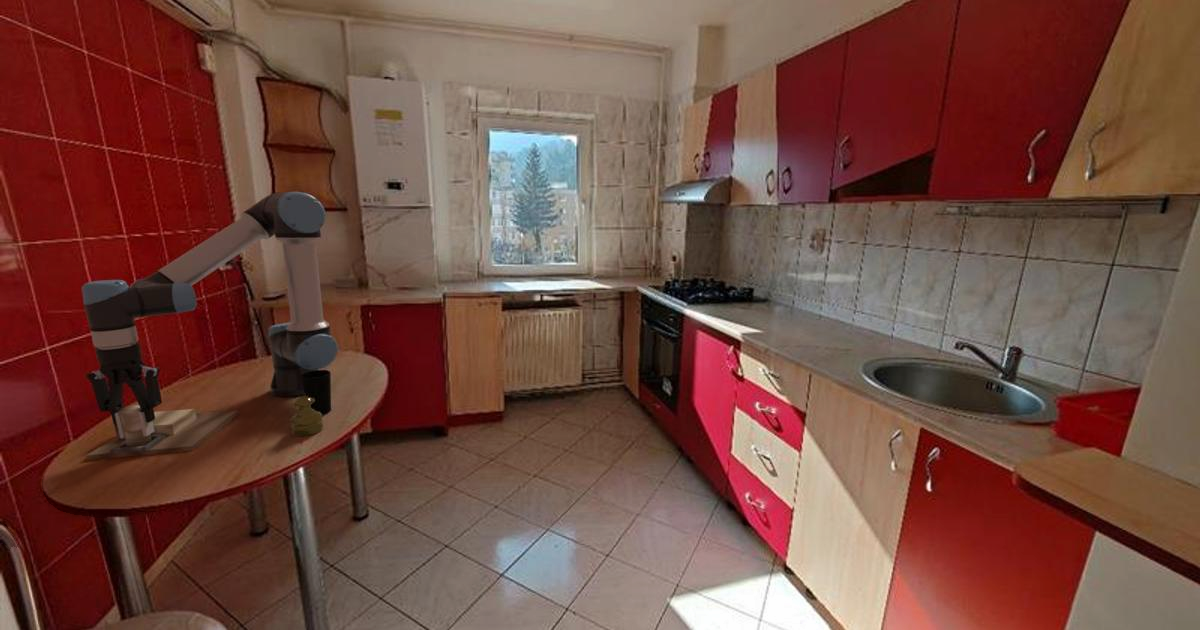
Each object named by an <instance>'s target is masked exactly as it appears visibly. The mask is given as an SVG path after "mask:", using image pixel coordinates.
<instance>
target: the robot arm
mask: <svg viewBox="0 0 1200 630" xmlns="http://www.w3.org/2000/svg"><path fill="white" fill-rule="evenodd" d="M325 222H326V211H325V208H324V206H323V204H322V203H321V202H320V201H319V200H318V199H317V198H316V197H315V196H313V195H311V194H309V193H307V192H301V191H285V192H279V191H278V192H275V193H271V194H268V195H266V196H265V197H263V198H262V199H260V200H259V201H258V202H256V203H255V204H253V205H252V206H250V207H249V208H247V209H246V210H245V211H242V212H241V214H240V218H239V219H237V220H236V221H234V222H233V223H231V224H230V225H228V226H227V227H224V228H223V229H222V230H220V231H219V232H217V233H216V234H214V235H212V236H210V237H209V238H207V239H205V240H204V241H202V242H200V244H197V245H196V246H195V247H193V248H191V249H190V250H188V251H187V252H185V253H184V254H181V256H179V257H178V258H176V259H174V260H172V261H171V262H170V263H168V264H166V265H164V266H163V267H161V268H159V269H158V270H157V271H155V272H154V273H152V274H150V275H148V276H147V277H145V278H141V279H137V280H135V281H134V282H132V283H131V284H130V286H129V285H128V284H127V282H126V281H125V280H123V279H109V280H108V279H107V280H106V279H105V280H104V279H103V280H95V281H88V282H85V283H84V284H83V285H82V286H81V293H82V294H81V295H82V299H83V302H82V303H83V306H84V310H85V314H86V317H87V322H88V325H89V328H90V329H89V330H90V336H91V338H92V344H93V347H95V348H96V349H95V355H96V360H97V362H98V364H100V366H99V369H96V370H94V371H92V372H89V373H86V378H87V379H88V381H89V382H90V383H91V385H92V389H93V392H94V395H95V400H96V404H97V406H98V407H97V408H98V410H99V411H100V412H102V413H103V412H107V413H108V412H109V413H110V414H111V419H112V424H113V425H117V426H118V430H119V434H120V438H125V434H124V430H123V425H122V421H121V417H120V413H119V410H120V409H122V408H125V407H126V406H123V403H124V401H123V399H124V395H123V394H124V384H126V385H127V387H129V388H130V389H131V392H132V393H133V396H134V397H135V399H136V401H137V403H138V404H137V405H139V406H140V408H141V410H140V411H139V412H138V414H139V419H140V423H141V428H142V432H143V436H148V435H150V434H151V433H153V432H154V426H153V422H152V421H153V420H155V415H154V412H155V411H154V409H155V408H156V407H158V406H159V405H161V404H162V402H163V401H162V395H161V394H162V393H161V390H160V389H161V388H160V383H159V377H158V376H159V372H160V368H159V367H158V366H154V367H151V366H150V367H149V366H146V364H145V363H144V362H143V360H142V358H143V353H142V348H141V344H140V343H139V342H138V341H139V334H138V331H137V326H136V321H135V319H137V318H144V317H153V316H155V317H156V316H161V315H171V314H182V313H185V312H190V311H194V310H195V309H196V308H197V304H198V303H197V301H198V300H197V295H196V292H195V289H194V287H193V286H194V285H195V284H197V283H198V282H200V281H201V280H203V279H204V278H206V277H207V276H209V275H210V274H211V273H213V272H215V271H216V270H217V269H219V268H220V267H222V266H223V265H225V264H227V262H229V261H231V260H232V259H234V258H236V257H237V256H239V255H240V254H241V253H243V252H245V251H246V250H247V249H249V248H250V247H251V246H253V245H255V244H257V242H259V241H261V240H269V239H270V238H271V237H273V236H274V237H275V239H276V240H277V241H278V242H279V243H280V244H282V245H281V246H282V252H283V261H284V269H285V278H286V287H287V296H288V304H289V312H290V313H289V314H290V315H289V316H290V322H289V321H288V322H284V323H278V324H273V325H271V326H269V328H268V336H267V338H268V340H269V346H270V347H269V348H270V351H271V352H270V353H271V358H272V364H273V365H272V366H273V372H272V373H273V374H272V378H271V381H270V386H269V389H270V395H272V396H274V397H279V398H281V397H282V398H288V397H297V396H304V395H305V393H304V389H303V385H302V381H301V375H302V374H304V373H307V372H311V371H316V370H323V369H325V368H326V367H328V366H330V365H331V364H332V362H333V361H335V360H336V357H337V356H338V353H339V345H338V342H337V340H336V339H335V338H334V337H333V336H332V335H331V326H330V323H329V322H328V321H326V320H325V319H324V311H323V303H322V302H323V301H322V292H321V283H320V281H321V280H320V273H319V272H320V271H319V262H318V252H317V243H318V242H319V241H320V240H321V239H322V234H321V232H322V231H321V229H322V227H323V226H324V225H325ZM142 374H143V375H142ZM105 377H106V378H107V379H106V378H105ZM143 377H144V378H143ZM144 383H145V384H144Z"/></svg>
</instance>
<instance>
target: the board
mask: <svg viewBox="0 0 1200 630" xmlns="http://www.w3.org/2000/svg"><path fill="white" fill-rule="evenodd" d="M238 415H239V410H227V411H226V410H225V411H215V412H213V411H212V412H202V413H201V412H200V413H196V417H197V419H196V420H194V421H193V422H192V423H190V424H189V425H187V426H186V427H184V428H183V429H182V430H180V431H179V432H177V433H176V434H175V435H167V434H154V435H151V440H152V441H151V442H149V443H148V444H146V445H145V446H135V447H127V443H126V438H120V434H119V430H118V426H117V425H114V424H113V425H114V429H115V435H116V436H115V437H114V438H112V439H111V440H109V441H108V442H106V443H104V444H103V445H101V446H98V448H96V449H94V450H93V451H91V452H88V453H87V454H86V455H85V456H86V460H87V461H88V460H89V461H90V460H91V461H92V460H100V459H101V460H102V459H113V458H122V457H123V458H124V457H136V456H146V455H147V456H148V455H157V454H158V455H159V454H167V453H168V454H170V453H179V452H180V453H182V452H190V451H191V452H192V451H195V450H196V449H197V448H198V447H200V446H201V445H202V444H204V443H205V442H206V441H207V440H208V439H210V438H211V437H213V435H215V434H216V433H217V432H219V430H221V429H222V428H223V427H224V426H226V425H228V423H229V422H232V420H233V419H235V418H236V417H237V416H238Z"/></svg>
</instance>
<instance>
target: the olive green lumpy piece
mask: <svg viewBox="0 0 1200 630" xmlns="http://www.w3.org/2000/svg"><path fill="white" fill-rule="evenodd" d="M314 401H315V399H314V398H313V397H309V396H305V395H300V397H298V398H295V400H294V401H293V402H292V404H293V405H294V406H295V407H297V408H298V410H297V411H296V412H295V414H293V415H292V416H291V417H290V420H289V422H290V424H291V426H290V428H291V433H292V435H293V436H295V437H308V436H312V435H315V434H317V433H320V431H322V430H323V428H324V423H323V422H324V420H323V419H322V417H323V415H322V413H321V412H320V411H317V410H315V409H313V408H311V404H312V403H313V402H314Z"/></svg>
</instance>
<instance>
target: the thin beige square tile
mask: <svg viewBox="0 0 1200 630" xmlns="http://www.w3.org/2000/svg"><path fill="white" fill-rule="evenodd" d="M196 412H197V411H196V409H195V408H191V409H190V408H188V409H176V410H174V409H173V410H163V411H154V415H155V420H153V421H152V422H153V426H154V432H153V433H151V434H150V435H154V434H167V435H175V434H176V433H177V432H179V431H180V430H182V429H183V428H184V427H186V426H187V425H189V424H190V423H192V422H193V421H194V420H196V419H197V417H196V414H197V413H196Z"/></svg>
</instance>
